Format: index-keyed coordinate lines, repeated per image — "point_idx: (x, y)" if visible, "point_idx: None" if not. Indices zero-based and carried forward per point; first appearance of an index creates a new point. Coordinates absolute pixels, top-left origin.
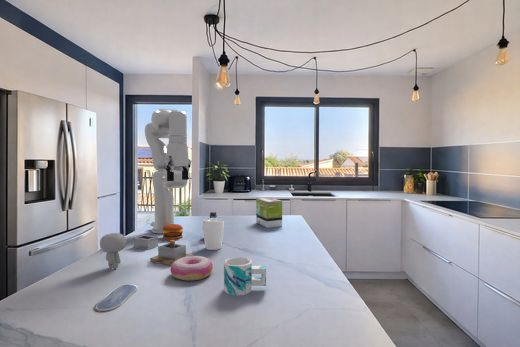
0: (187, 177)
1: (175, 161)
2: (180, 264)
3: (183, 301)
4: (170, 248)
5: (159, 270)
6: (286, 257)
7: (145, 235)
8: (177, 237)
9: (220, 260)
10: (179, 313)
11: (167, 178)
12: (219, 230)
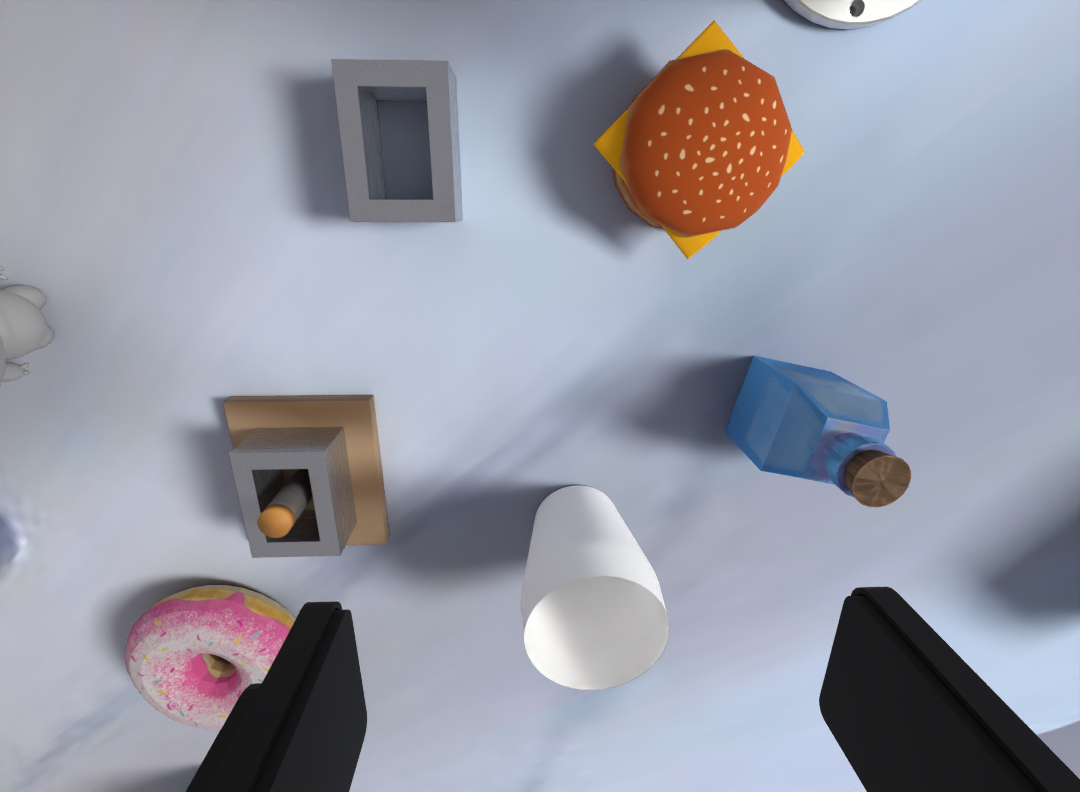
0: (850, 752)
1: None
2: (139, 675)
3: (67, 725)
4: (248, 528)
5: (182, 512)
6: (580, 789)
7: (439, 90)
8: (654, 224)
9: (427, 635)
10: (15, 753)
11: (287, 653)
12: (562, 639)
